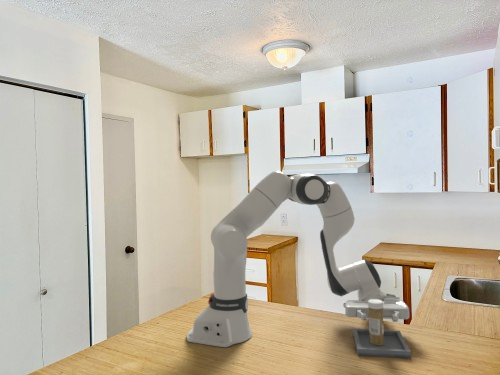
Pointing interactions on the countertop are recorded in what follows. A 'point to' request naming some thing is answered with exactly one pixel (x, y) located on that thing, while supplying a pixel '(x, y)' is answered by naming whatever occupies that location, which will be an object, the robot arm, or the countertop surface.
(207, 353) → the countertop surface
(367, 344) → the tray
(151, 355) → the countertop surface
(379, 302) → the sprinkles bottle
